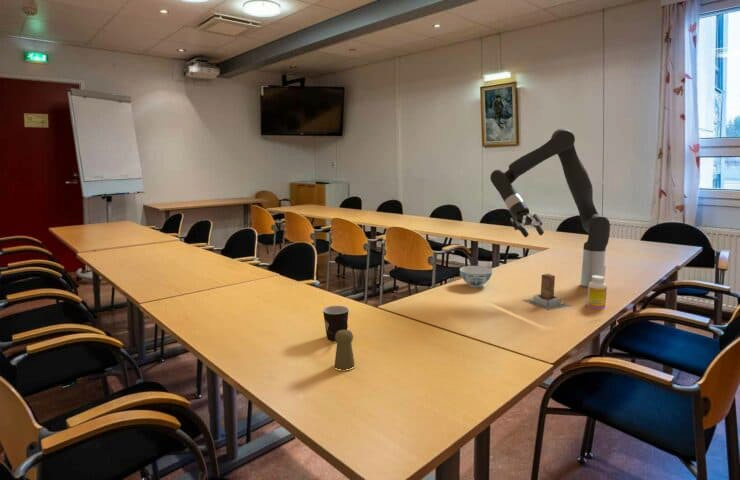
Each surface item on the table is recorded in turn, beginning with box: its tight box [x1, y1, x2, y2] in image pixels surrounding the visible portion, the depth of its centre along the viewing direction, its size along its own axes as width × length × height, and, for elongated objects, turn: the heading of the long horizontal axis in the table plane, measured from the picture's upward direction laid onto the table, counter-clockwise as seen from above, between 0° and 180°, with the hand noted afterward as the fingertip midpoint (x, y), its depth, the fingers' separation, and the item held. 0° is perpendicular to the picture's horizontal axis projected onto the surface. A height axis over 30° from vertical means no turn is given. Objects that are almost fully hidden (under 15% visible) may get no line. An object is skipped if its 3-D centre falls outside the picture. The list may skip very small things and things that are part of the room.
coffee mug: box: [322, 305, 350, 342], centre depth 154 cm, size 12×9×10 cm
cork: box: [334, 329, 356, 370], centre depth 134 cm, size 6×6×11 cm
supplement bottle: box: [586, 275, 608, 309], centre depth 184 cm, size 7×7×13 cm
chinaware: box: [459, 265, 493, 289], centre depth 217 cm, size 15×15×8 cm
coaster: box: [522, 297, 573, 311], centre depth 188 cm, size 13×14×1 cm
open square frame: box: [529, 293, 566, 308], centre depth 188 cm, size 10×10×3 cm
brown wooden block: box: [540, 273, 556, 300], centre depth 187 cm, size 4×4×11 cm
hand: (534, 235), depth 199 cm, fingers open, 8 cm apart
